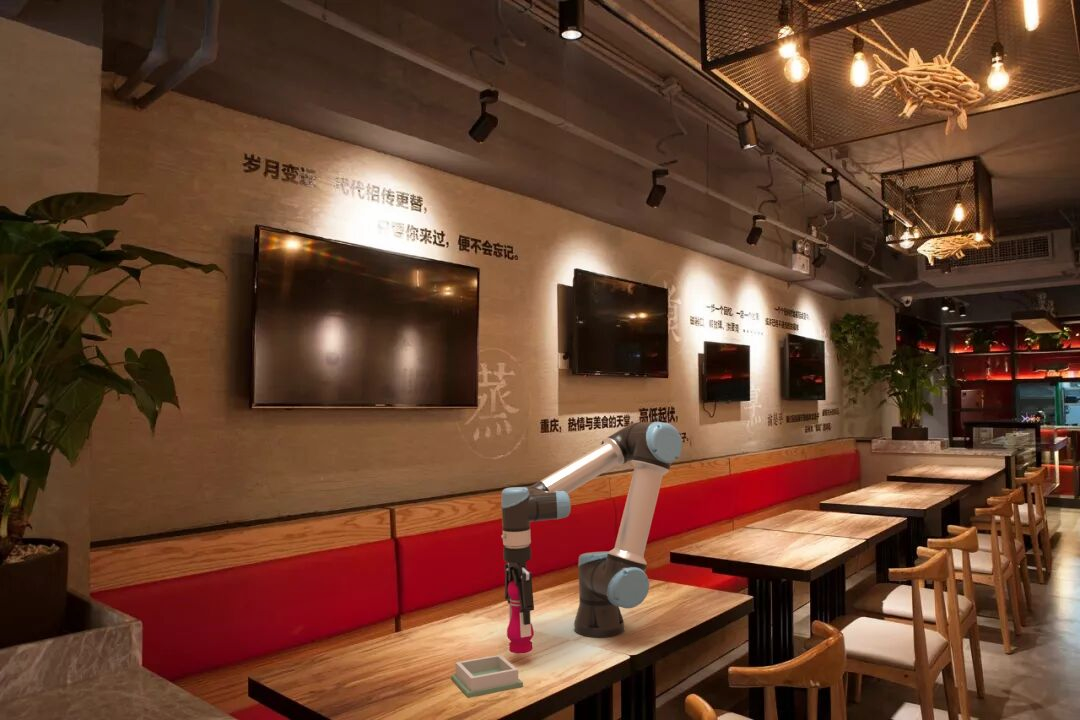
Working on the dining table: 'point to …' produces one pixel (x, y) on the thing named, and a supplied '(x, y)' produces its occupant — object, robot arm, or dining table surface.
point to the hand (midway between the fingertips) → (520, 632)
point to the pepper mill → (517, 624)
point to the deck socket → (486, 676)
